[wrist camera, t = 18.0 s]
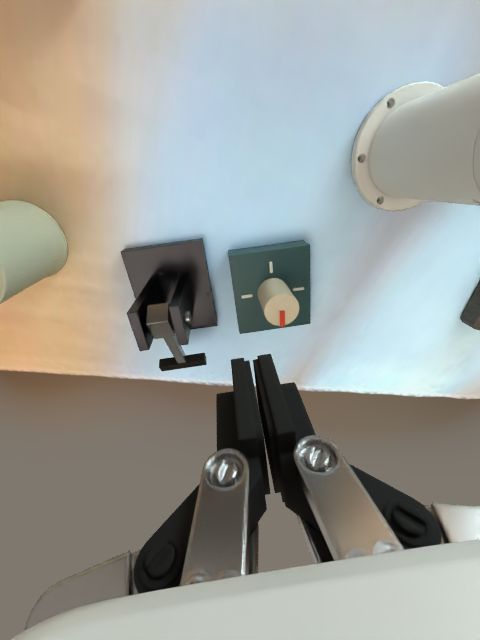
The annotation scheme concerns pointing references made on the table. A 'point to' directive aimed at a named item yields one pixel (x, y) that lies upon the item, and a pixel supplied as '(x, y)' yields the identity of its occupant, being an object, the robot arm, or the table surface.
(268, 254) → the dial panel
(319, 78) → the table surface
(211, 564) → the robot arm
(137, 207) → the table surface
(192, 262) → the pivoting lever stand
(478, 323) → the walkie-talkie
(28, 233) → the can
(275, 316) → the dial
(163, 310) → the lever
